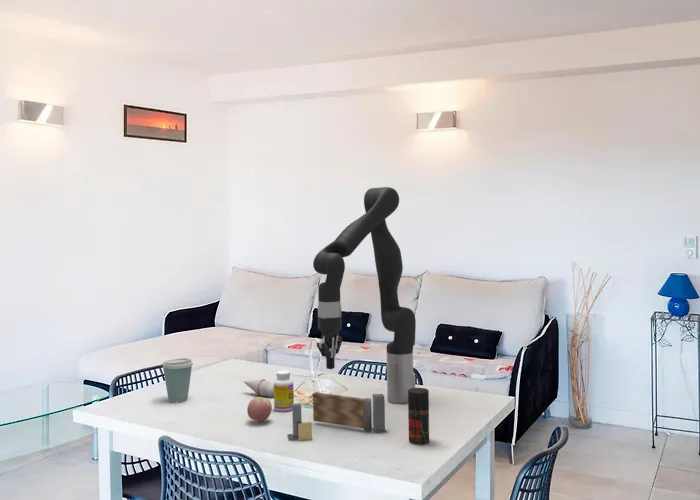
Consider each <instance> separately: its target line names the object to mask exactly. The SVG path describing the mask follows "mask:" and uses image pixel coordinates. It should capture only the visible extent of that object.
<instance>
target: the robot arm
mask: <svg viewBox="0 0 700 500" xmlns="http://www.w3.org/2000/svg"><path fill="white" fill-rule="evenodd" d="M399 204H400V197H399V193H398V191H397V190H396V189H395V188H393V187H389V186H382V187H372V188H369V189H367V190H366V192H365V193H364V197H363V205H364V206H363V207H364V210H365V211H364V212H365V213H364V214H362V215H361V216H360V217H359V218H357V219H355V220H354V221H352V222H351V223H350V224H348V225H347V226H346V227H345V228H344V229H343V230H342V231H341V232H340V234H339V235H338V236H337V237H336V238H335V239H334V240H333V241H332V242H330V243H329V244H327V245H326V246H325V247H324V248H322V249H321V250H319V252H318V253H317V254H316V255H315V256H314V259H313V262H312V263H313V264H312V267H313V270H314V271H315V272H316V273H317V274H320V275H326V276H325V277H326V278H325V282H321V283H320V284H319V285H318V290H317V291H318V293H317V295H318V296H317V297H318V303H317V304H318V306H317V329H318V331H320V332H321V336H320V342H317V343H316V347H317V349H318V350H319V353H320V354H321V357H324V358H326V359H325V361H326V362H325V363H326V364H325V366H326V367H325V368H326V370H334V369H335V358H336V355H337V354H339V352H340V349H341V346H342V343H343V338H344V337H343V336H340V333H339V331H341V330H342V328H343V326H342V323H343V322H342V305H341V286H342V282H343V279H344V274H345V269H346V265H345V264H346V263H345V260H344V258H347V257H349V256H351V255H352V254H353V252H355V251H356V249H357V248H358V246H360V244H361V243H362V242H363V241H364V240H365V238H366V237H367V236H368V235H369V234H370V236H371V241H372V247H373V254H374V262H375V269H376V273H377V274H376V275H377V281H378V282H377V283H378V289H379V298H380V299H379V300H380V319H381V323H382V325H383V327H384V328H385V330H387V331H388V332H392V333H393V341H391V342H388V343H387V344H386V387H387V389H386V390H387V391H386V397H387V398H386V399H387V402H388V403H390V404H391V403H393V404H397V405H398V404H399V405H402V404H408V390H409V389H411V388H416V374H415V373H414V346H415V344H416V327H417V325H416V322H417V321H416V315H415V312H414V311H413V310H412V309H411V308H410V307H405V306H400V303H399V294H398V288H399V284H400V281H401V278H402V275H403V269H404V267H403V259H402V252H401V249H400V246H399V244H398V243H397V241H396V240H395V238H394V236H393V235H392V234H391V232H390V230H389V228H388V224H387V221H386V219H387V218H388V217H390V216H392V214H393V213H394V212H395V211H396V210H397V208H398V206H399Z"/></svg>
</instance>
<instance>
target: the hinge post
mask: <svg viewBox="0 0 700 500" xmlns="http://www.w3.org/2000/svg"><path fill="white" fill-rule="evenodd" d="M385 397H386V396H385V395H384V394H383V393H375V394H374V393H373V394H372V432H373V433H374V434H383V433H387V429H386V416H385V415H386V411H385V410H386V406H385V405H386V404H385V403H386V402H385V401H386V400H385Z"/></svg>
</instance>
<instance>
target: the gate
mask: <svg viewBox="0 0 700 500" xmlns="http://www.w3.org/2000/svg"><path fill="white" fill-rule="evenodd" d="M312 410H313V411H312V412H313V413H312V415H313V417H312V418H313V422H318V423H319V422H320V423H325V424H331V425H337V426H344V427H351V428H357V429H362V430H363V431H364V432H373V430H372V428H373V410H372V398H370V397H369V398H368V397H367V398H363V397H362V398H361V397H355V396H354V397H353V396H349V395H348V396H346V395H338V394H332V393H324V392H318V391H315V392H313V393H312Z"/></svg>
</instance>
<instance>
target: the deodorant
mask: <svg viewBox="0 0 700 500" xmlns="http://www.w3.org/2000/svg"><path fill="white" fill-rule="evenodd" d="M429 392H430V391H429V389H427V388H425V387H424V388H423V387H415V388H411V389H409V390H408V403H407V404H408V405H407V407H408V408H407V409H408V410H407V411H408V414H407V416H408V421H407V422H408V443H409V444H411V445H415V446H424V445H427V444H429V443H430V401H429V399H430V397H429V396H430V394H429Z"/></svg>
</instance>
